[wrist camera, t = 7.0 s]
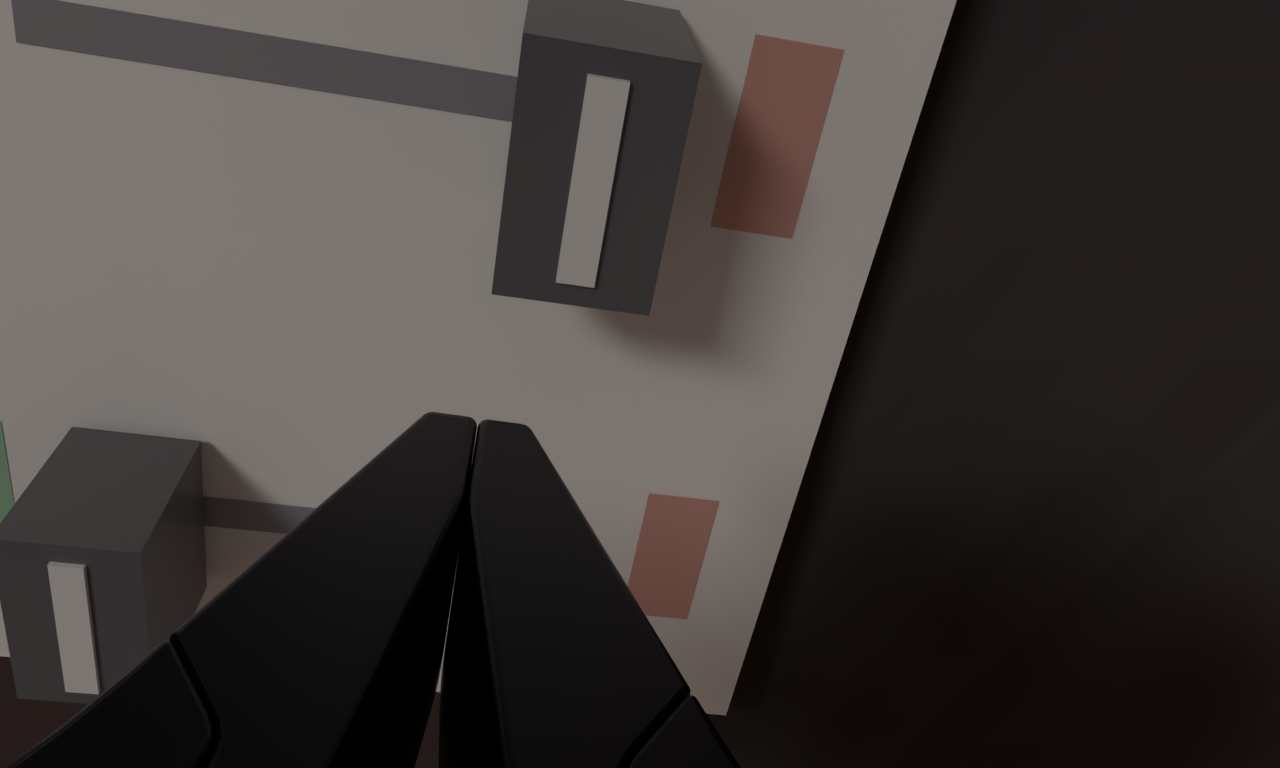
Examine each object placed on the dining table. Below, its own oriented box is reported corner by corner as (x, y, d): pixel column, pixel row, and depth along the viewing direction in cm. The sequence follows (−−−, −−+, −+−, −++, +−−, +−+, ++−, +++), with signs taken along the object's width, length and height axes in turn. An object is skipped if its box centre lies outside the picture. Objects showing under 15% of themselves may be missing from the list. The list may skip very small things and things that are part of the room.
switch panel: (1240, -1019, 13) (1314, -1106, 12) (718, 671, 28) (725, 715, 27) (-597, -1663, 10) (-770, -1872, 9) (-79, 601, 25) (-113, 647, 24)
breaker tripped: (679, 10, 17) (702, 65, 14) (637, 229, 19) (650, 318, 16) (531, -17, 17) (522, 34, 14) (503, 209, 19) (491, 297, 16)
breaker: (200, 441, 21) (138, 557, 18) (206, 586, 23) (151, 712, 20) (71, 426, 21) (-14, 542, 18) (89, 575, 23) (15, 702, 20)
